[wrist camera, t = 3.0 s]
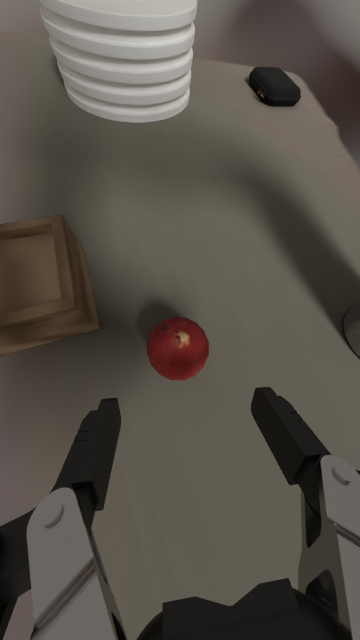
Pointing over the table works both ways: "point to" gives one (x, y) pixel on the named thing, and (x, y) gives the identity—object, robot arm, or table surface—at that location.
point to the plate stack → (124, 55)
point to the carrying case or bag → (274, 86)
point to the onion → (177, 348)
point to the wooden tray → (43, 285)
